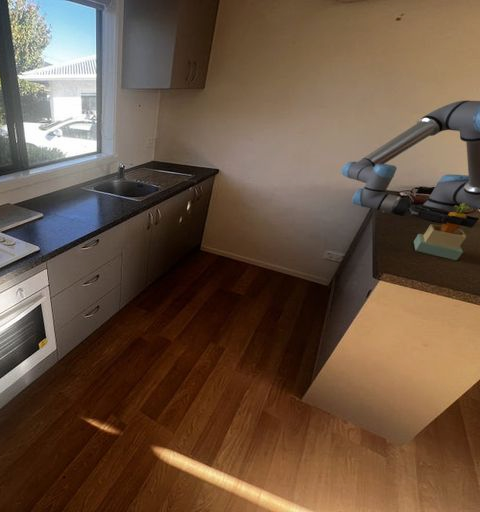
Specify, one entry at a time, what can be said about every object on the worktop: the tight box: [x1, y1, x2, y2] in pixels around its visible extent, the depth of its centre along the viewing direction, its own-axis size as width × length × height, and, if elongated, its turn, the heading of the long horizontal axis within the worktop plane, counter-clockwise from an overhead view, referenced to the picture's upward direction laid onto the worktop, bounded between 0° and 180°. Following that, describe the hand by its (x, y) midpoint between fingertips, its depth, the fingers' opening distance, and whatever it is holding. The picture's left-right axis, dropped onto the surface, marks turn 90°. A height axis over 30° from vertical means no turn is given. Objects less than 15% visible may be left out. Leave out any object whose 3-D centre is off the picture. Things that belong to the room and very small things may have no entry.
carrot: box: [441, 203, 469, 234], centre depth 116 cm, size 5×5×15 cm
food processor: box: [413, 223, 467, 261], centre depth 120 cm, size 13×12×10 cm
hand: (475, 222), depth 111 cm, fingers closed on carrot, 5 cm apart
